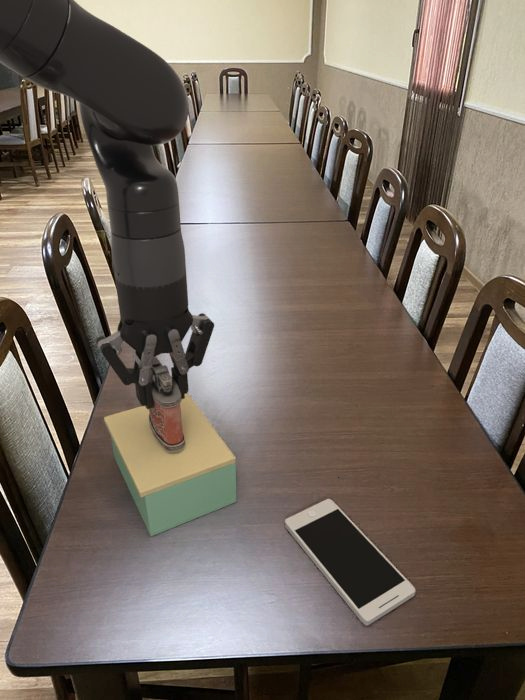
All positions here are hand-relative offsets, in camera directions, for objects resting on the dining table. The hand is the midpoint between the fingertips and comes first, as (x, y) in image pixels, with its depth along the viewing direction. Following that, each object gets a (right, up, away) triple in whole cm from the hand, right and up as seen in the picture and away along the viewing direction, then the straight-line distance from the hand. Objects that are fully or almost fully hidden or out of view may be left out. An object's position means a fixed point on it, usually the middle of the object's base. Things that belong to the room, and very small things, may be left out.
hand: (163, 400), depth 66 cm
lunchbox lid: (0, -6, +3) cm, 7 cm away
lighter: (0, -4, +3) cm, 5 cm away
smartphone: (+22, -18, -4) cm, 28 cm away
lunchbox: (0, -11, +7) cm, 13 cm away
